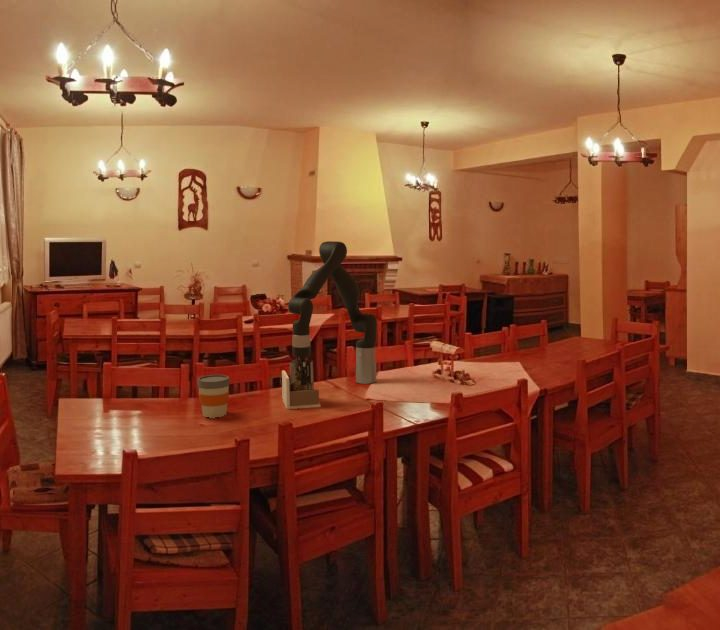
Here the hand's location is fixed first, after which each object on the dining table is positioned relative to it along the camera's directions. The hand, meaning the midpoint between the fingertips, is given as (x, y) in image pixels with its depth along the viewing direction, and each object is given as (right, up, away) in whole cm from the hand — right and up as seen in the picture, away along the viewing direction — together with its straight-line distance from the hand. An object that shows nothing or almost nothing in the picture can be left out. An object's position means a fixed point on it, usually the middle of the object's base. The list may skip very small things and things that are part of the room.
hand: (302, 382), depth 270 cm
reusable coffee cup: (-34, -11, -15) cm, 39 cm away
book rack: (-1, -9, +1) cm, 9 cm away
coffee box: (0, -7, +1) cm, 7 cm away
